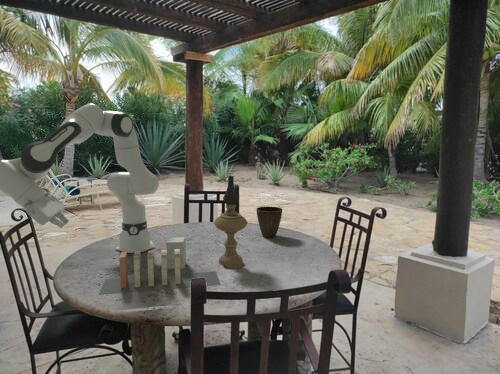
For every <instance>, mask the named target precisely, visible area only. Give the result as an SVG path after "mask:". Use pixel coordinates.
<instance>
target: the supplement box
mask: <svg viewBox="0 0 500 374" xmlns="http://www.w3.org/2000/svg"><path fill="white" fill-rule="evenodd" d="M165 245H166V250H167V270H173V269H174V270H175V252H174V249H180V270H181V269H185V267H186V265H187V256H186V255H187V251H186V237H169V238H168V240H167V241H166V243H165Z"/></svg>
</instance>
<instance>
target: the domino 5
mask: <svg viewBox="0 0 500 374" xmlns="http://www.w3.org/2000/svg"><path fill="white" fill-rule="evenodd" d="M174 252H175V269H174V274H175V284H181V279H180V274H181V269H180V249H174Z"/></svg>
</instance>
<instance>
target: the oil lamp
mask: <svg viewBox="0 0 500 374" xmlns="http://www.w3.org/2000/svg"><path fill="white" fill-rule="evenodd" d="M234 177H235V176H234V175H228V176H227V187H226V190H225V194H224V196H223V197H222V199H223V202H224V203H225V208H226V210H225V212H223V213H221V214H220V215H219V216H218V217H217V218H216V219H215V220H214V222H213V224H214V226H215V227H216V229H219V230H220V231H222V232H224V233H225V234H226V235H227V239H225V242H224V243H223V245H224V247H225V251H224V253H223V254H221V256H220V257H219V258H218V264H220V265H221V266H223V268H227V269H234V268H235V269H236V268H239V267H241V266H243V265H244V261H243V257H242V256H241V255H240V254H239V253H238V252H237V250H236V249H237V246H238V241H236V238H235V235H236V233H237V232H239V231H242V230H243V229H244V228H246V226H247V225H248V221H247V219H246V218H245V217H244V216H243V215H242V214H241V213H240V212H237V211H236V207H237V205H236V204H237V203H238V201H239V199H240V198H239V195H238V194H237V192H236V188H235V184H234Z"/></svg>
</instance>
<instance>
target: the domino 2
mask: <svg viewBox="0 0 500 374" xmlns="http://www.w3.org/2000/svg"><path fill="white" fill-rule="evenodd" d="M141 259H142V257H141V252H140V251H136V252H135V253H133V275H134V276H133V277H134V281H135V287H140V286H141V277H142V260H141Z"/></svg>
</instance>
